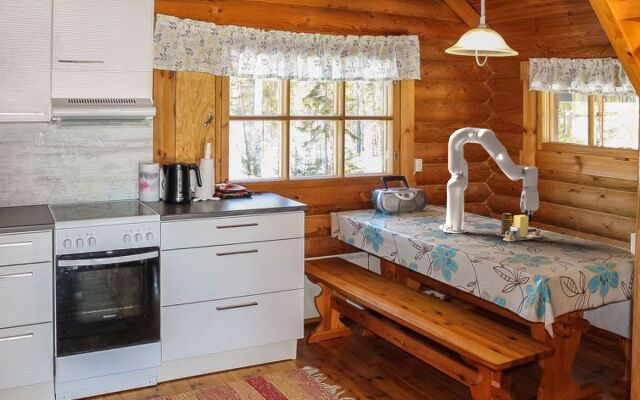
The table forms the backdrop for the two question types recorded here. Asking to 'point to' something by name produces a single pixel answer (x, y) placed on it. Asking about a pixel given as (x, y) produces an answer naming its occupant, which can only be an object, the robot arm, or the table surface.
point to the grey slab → (517, 232)
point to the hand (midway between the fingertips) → (528, 221)
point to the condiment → (505, 223)
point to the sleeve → (521, 224)
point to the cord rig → (510, 237)
